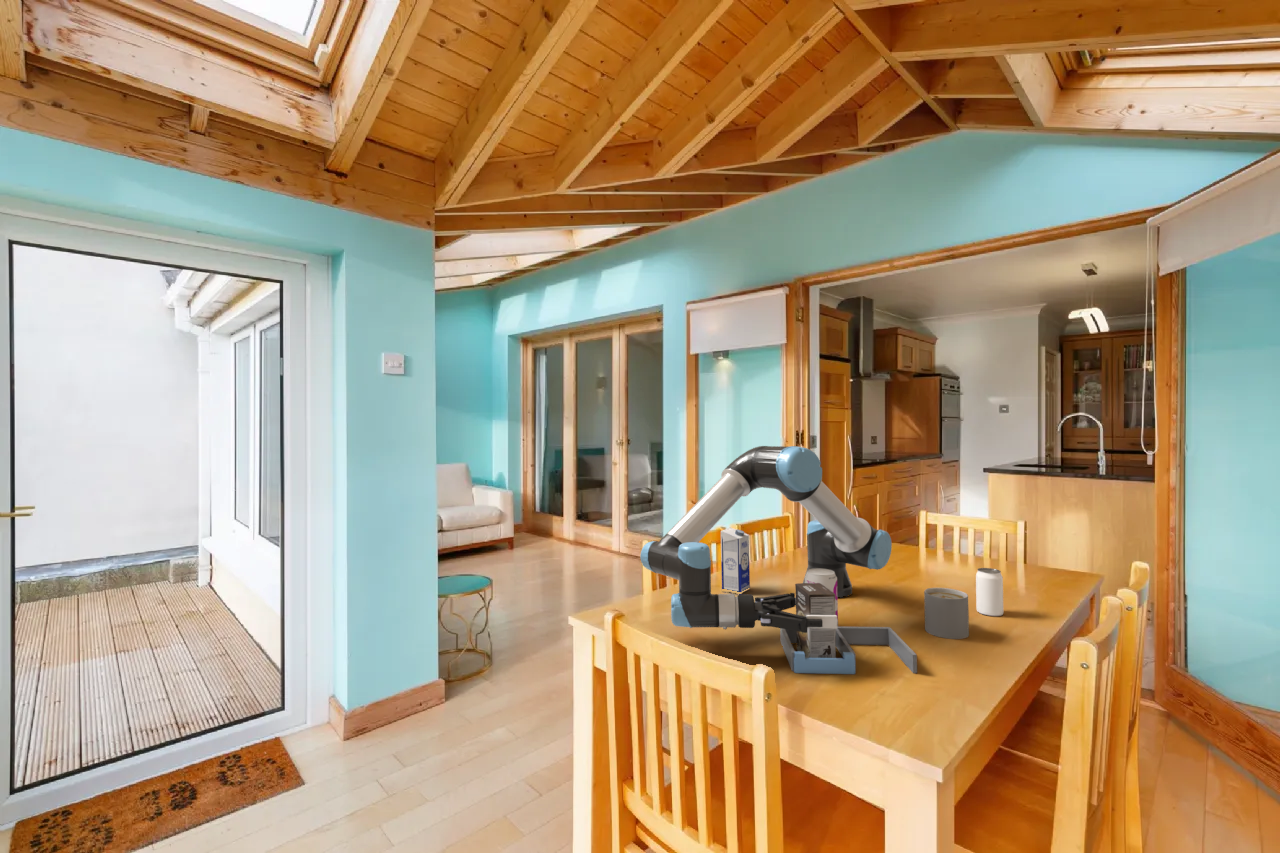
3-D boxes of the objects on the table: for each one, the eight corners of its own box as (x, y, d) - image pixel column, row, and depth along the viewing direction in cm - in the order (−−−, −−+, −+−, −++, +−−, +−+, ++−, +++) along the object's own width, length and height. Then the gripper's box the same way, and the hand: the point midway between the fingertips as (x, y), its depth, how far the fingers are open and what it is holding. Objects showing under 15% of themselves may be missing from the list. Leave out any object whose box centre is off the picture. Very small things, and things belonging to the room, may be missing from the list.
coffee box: (795, 650, 138) (794, 583, 138) (821, 649, 139) (820, 581, 139) (809, 666, 129) (808, 594, 129) (837, 664, 130) (836, 592, 130)
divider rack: (780, 641, 144) (780, 625, 144) (890, 643, 141) (890, 626, 141) (793, 673, 126) (792, 654, 126) (919, 676, 123) (919, 656, 123)
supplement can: (838, 624, 155) (837, 568, 155) (838, 635, 147) (836, 576, 147) (806, 621, 158) (805, 567, 158) (805, 632, 150) (803, 574, 150)
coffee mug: (963, 642, 141) (962, 601, 141) (919, 632, 148) (919, 593, 148) (976, 627, 151) (975, 589, 151) (935, 619, 158) (934, 582, 158)
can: (1007, 617, 158) (1006, 573, 158) (981, 616, 160) (980, 572, 159) (997, 609, 165) (997, 567, 165) (972, 608, 166) (972, 567, 166)
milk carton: (731, 586, 193) (730, 526, 193) (750, 589, 189) (749, 528, 189) (721, 591, 187) (720, 530, 187) (740, 595, 183) (739, 532, 183)
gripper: (733, 609, 148) (818, 610, 146) (741, 647, 123) (843, 648, 121) (733, 580, 148) (817, 581, 146) (741, 612, 123) (843, 613, 121)
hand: (829, 611), depth 134 cm, fingers open, 13 cm apart
